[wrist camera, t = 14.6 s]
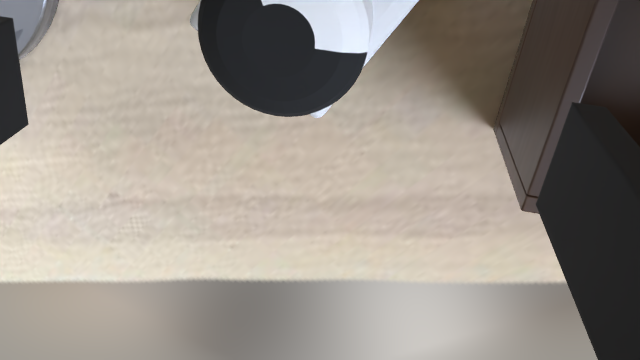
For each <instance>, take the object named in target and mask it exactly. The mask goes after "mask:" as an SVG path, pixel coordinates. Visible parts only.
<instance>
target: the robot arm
mask: <svg viewBox="0 0 640 360" xmlns="http://www.w3.org/2000/svg"><path fill="white" fill-rule="evenodd" d="M58 2H59V0H0V145H1V144H2V143H3V142H5V141H6V140H8V139H9V138H10V137H12V136H13V135H14V134H16V133H17V132H19V131H20V130H21V129H23V128H24V127H25V126H27V125H28V118H27V111H26V104H25V97H24V91H23V84H22V77H21V70H20V63H19V60H20V59H21V58H23V57H25V56H26V55H27V54H28V53H29V52H31V51H32V50H33V49H34V48H35V47H36V45H37V44H38V43H39V42H40V41H41V39H42V38H43V37H44V35H45V34H46V32H47V30H48V28H49V27H50V25H51V23H52V20H53V18H54V15H55V13H56V9H57V6H58ZM536 206H537V209H538V211H539V214H540V216H541V219H542V221H543V224H544V226H545V229H546V231H547V234H548V236H549V239H550V241H551V244H552V246H553V249H554V251H555V254H556V256H557V259H558V261H559V264H560V266H561V269H562V271H563V274H564V276H565V279H566V281H567V284H568V286H569V289H570V291H571V294H572V296H573V299H574V301H575V304H576V306H577V308H578V311H579V313H580V316H581V318H582V321H583V324H584V326H585V329H586V331H587V334H588V336H589V339H590V341H591V343H592V346H593V348H594V351H595V353H596V356H597V358H598V360H640V147H639V146H638V144H637V143H636V142H635V141H634V140H633V138H632V137H631V136H630V135H629V134H628V133H627V131H626V130H625V129H624V128H623V127H622V125H621V124H620V123H619V122H618V121H617V119H616V118H615V117H614V116H613V115H612V113H611V112H610V111H609V110H608V109H607V107H602V106H595V105H588V104H582V103H575V102H572V104H571V107H570V110H569V112H568V115H567V118H566V121H565V124H564V126H563V129H562V132H561V135H560V138H559V140H558V143H557V146H556V149H555V152H554V155H553V157H552V160H551V163H550V166H549V169H548V171H547V174H546V177H545V180H544V183H543V185H542V188H541V191H540V194H539V197H538V200H537V202H536Z"/></svg>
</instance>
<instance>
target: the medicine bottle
mask: <svg viewBox="0 0 640 360" xmlns="http://www.w3.org/2000/svg"><path fill="white" fill-rule="evenodd" d="M418 1H419V0H200V2H199V3H198V5H197V7H196V8H195V10H194V11H193V13H192V15H191V18H190V23H191V25H192V27H193V28H195V29H196V30H197V31H198V36H199V42H200V46H201V50H202V53H203V56H204V58H205V61H206V63H207V65H208V67H209V69H210V71H211V72H212V74H213V75H214V77H215V78H216V80H217V81H218V82H219V83H220V85H221V86H222V87H223V88H224V89H225V90H226V91H227V92H228V93H229V94H231V95H232V96H233V97H234V98H235V99H237V100H238V101H240V102H241V103H243V104H244V105H246V106H248V107H250V108H252V109H254V110H257V111H260V112H262V113H266V114H270V115H275V116H284V117H292V116H302V115H308V114H310V115H311V116H313V117H315V118H320V117H321V116H323V115H324V114H325V113H326V112H327V110H328V109H329V108H330V107H331V105H332V104H333V103H335V102H336V101H338V100H339V99H340V98H341V97H342V96H343V95H344V94H346V93H347V91H348V90H349V89H350V88H351V87H352V85H353V84H354V83H355V81H356V80H357V78H358V76H359V75H360V73H361V70H362V68H363V67H364V66H365V65H366V63H367V62H368V61H369V60H370V59H371V57H372V56H373V55H374V54H375V52H376V51H377V50H378V49H379V48H380V46H381V45H382V44H383V43H384V42H385V40H386V39H387V38H388V37H389V36H390V34H391V33H392V32H393V31H394V30H395V28H396V27H397V26H398V25H399V24H400V22H401V21H402V20H403V19H404V18H405V16H406V15H407V14H408V13H409V12H410V10H411V9H412V8H413V7H414V6H415V4H416V3H417V2H418Z"/></svg>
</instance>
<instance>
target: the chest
mask: <svg viewBox="0 0 640 360" xmlns="http://www.w3.org/2000/svg"><path fill="white" fill-rule="evenodd" d="M572 102H575V103H582V104H588V105H595V106H602V107H607V109H608V110H609V111H610V112H611V113H612V115H613V116H614V117H615V118H616V119H617V121H618V122H619V123H620V124H621V125H622V127H623V128H624V129H625V130H626V131H627V133H628V134H629V135H630V136H631V137H632V138H633V140H634V141H635V142H636V143H637V144H638V146H639V147H640V0H533V2H532V5H531V8H530V11H529V15H528V18H527V21H526V25H525V28H524V31H523V34H522V38H521V41H520V44H519V47H518V51H517V54H516V57H515V61H514V64H513V67H512V70H511V74H510V77H509V80H508V83H507V87H506V90H505V93H504V97H503V100H502V103H501V106H500V110H499V113H498V116H497V119H496V123H495V126H494V132H495V135H496V138H497V141H498V144H499V147H500V150H501V153H502V155H503V158H504V161H505V164H506V167H507V170H508V173H509V176H510V179H511V182H512V185H513V188H514V190H515V193H516V196H517V199H518V202H519V205H520V208H521V210H522V211H526V212H532V213H538V214H539V211H538V209H537V206H536V202H537V200H538V197H539V194H540V191H541V188H542V185H543V183H544V180H545V177H546V174H547V171H548V169H549V166H550V163H551V160H552V157H553V155H554V152H555V149H556V146H557V143H558V140H559V138H560V135H561V132H562V129H563V126H564V124H565V121H566V118H567V115H568V112H569V110H570V107H571V104H572Z"/></svg>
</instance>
